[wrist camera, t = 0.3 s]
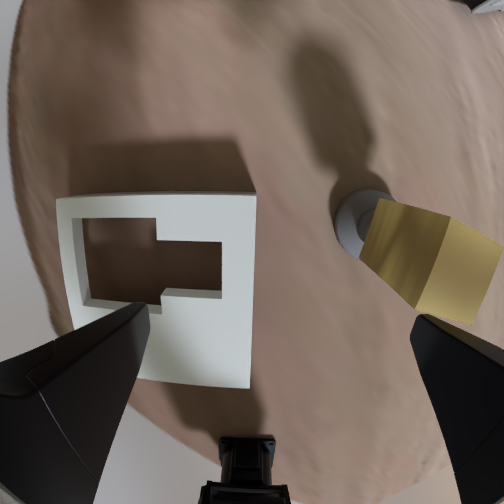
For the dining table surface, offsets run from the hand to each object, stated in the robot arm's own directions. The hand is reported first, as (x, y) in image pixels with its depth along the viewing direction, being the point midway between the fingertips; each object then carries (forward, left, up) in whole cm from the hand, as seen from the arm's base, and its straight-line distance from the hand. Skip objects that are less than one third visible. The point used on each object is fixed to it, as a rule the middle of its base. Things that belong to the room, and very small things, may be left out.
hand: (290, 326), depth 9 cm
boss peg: (+1, -8, -15) cm, 17 cm away
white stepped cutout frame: (-4, +9, -15) cm, 18 cm away
